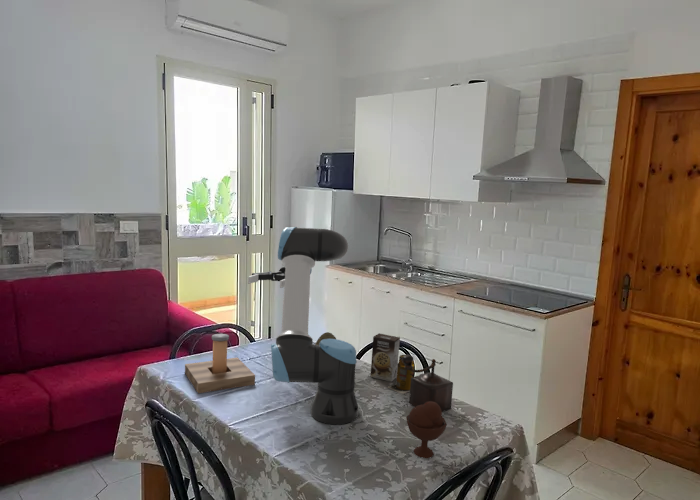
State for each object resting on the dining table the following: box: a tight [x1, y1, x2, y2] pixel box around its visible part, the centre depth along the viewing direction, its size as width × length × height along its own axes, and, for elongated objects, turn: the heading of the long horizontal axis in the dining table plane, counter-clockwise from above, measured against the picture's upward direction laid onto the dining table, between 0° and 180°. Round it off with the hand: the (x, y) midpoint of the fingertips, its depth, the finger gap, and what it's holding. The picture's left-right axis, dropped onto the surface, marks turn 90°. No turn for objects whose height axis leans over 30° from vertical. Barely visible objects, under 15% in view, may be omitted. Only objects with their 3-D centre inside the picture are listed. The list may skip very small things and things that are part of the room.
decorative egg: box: [314, 331, 337, 345], centre depth 193 cm, size 11×11×15 cm
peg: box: [211, 333, 230, 374], centre depth 177 cm, size 6×6×16 cm
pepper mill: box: [402, 354, 454, 413], centre depth 162 cm, size 16×11×18 cm
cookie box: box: [370, 333, 401, 382], centre depth 188 cm, size 9×6×16 cm
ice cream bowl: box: [405, 401, 448, 459], centre depth 133 cm, size 11×11×15 cm
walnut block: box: [184, 357, 256, 394], centre depth 177 cm, size 20×20×4 cm
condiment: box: [387, 354, 415, 395], centre depth 178 cm, size 7×8×12 cm
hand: (264, 282), depth 183 cm, fingers open, 13 cm apart
